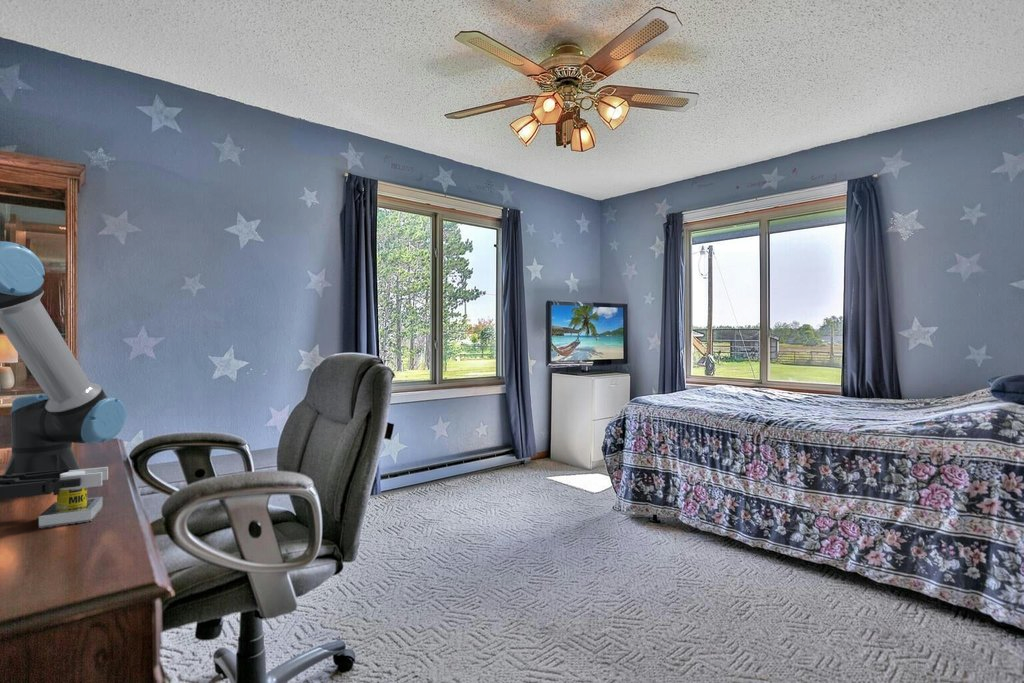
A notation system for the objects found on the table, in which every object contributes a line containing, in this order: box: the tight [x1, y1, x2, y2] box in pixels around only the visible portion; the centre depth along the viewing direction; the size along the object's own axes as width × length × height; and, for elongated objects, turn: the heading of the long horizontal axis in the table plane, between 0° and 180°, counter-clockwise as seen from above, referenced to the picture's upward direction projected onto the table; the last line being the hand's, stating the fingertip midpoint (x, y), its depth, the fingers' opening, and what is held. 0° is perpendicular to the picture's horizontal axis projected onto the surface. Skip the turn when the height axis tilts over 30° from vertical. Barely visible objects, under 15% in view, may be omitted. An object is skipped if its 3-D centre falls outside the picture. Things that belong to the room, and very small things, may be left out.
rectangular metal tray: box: [38, 496, 104, 529], centre depth 105 cm, size 10×8×2 cm
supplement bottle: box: [56, 471, 88, 512], centre depth 105 cm, size 5×5×8 cm
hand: (104, 476), depth 107 cm, fingers closed on supplement bottle, 5 cm apart
